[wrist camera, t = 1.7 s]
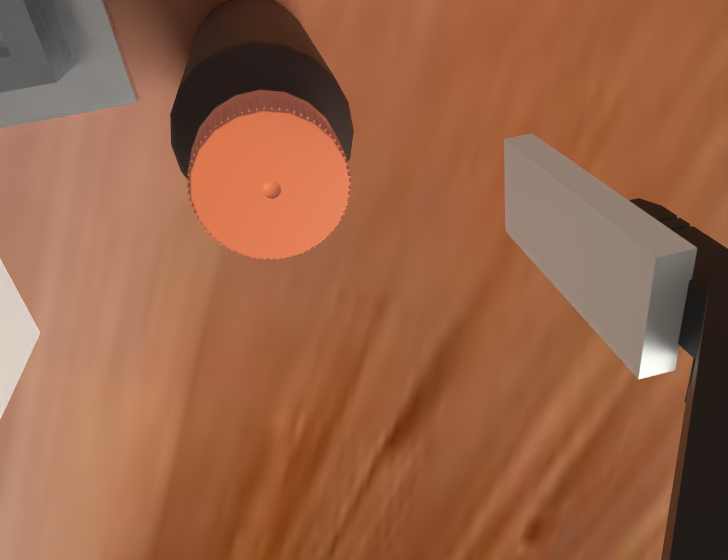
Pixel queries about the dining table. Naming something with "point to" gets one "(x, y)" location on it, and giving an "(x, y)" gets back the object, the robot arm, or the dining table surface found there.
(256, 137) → the vinegar
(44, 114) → the duct collar
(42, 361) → the dining table surface
